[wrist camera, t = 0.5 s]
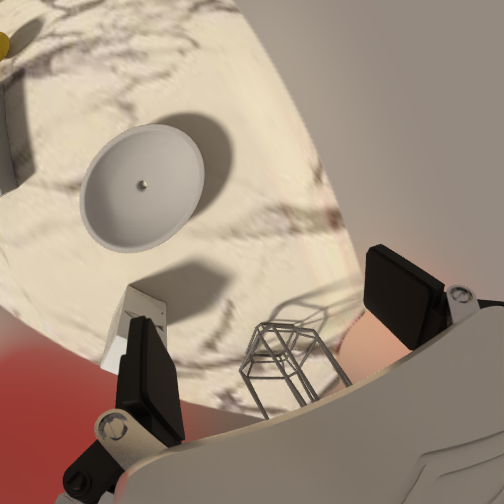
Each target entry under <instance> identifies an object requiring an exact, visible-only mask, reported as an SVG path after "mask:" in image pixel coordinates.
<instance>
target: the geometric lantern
mask: <svg viewBox="0 0 504 504" xmlns="http://www.w3.org/2000/svg"><path fill="white" fill-rule="evenodd" d="M263 325H268V326H267V327H266V328H265V327H264V326H263ZM260 326H262V328H263V330H262V331H259V329H258V327H260ZM270 328H273V330H269V329H270ZM276 328H283V329H291V330H293V331H288V330H277V329H276ZM256 330H257V331H258V334H257V336H256V338H255V340H254V342H253V344H252V346H251V343H252V340H253V338H254V335H255V333H256ZM297 330H300V331H297ZM264 332H275V333H276V335H277V337H278V339H279V340H280V342H281V344H282V345H283V347H284V350H283V352H282V353H281V354H279V355H274V354H273V352H272V351H271V349H270V348H269V346H268V344H267V343H266V341H265V340H264V338H263V337H262V334H263V333H264ZM279 332H292V333H291V335H290V337H289V339H288V342H287V344H285V342H284V340H283V339H282V337H281V335H280V334H279ZM294 332H295V333H296V337H295V339H294V341H293V343H292V346H291V348H290V350H289V349H288V347H287V346H288V344H289V342H290V339H291V337H292V335H293V333H294ZM298 332H313V333H314V335H315V337H314V336H309V335H305V334H301V333H298ZM298 335H301V336H305V337H310V338H314V339H315V340H314V342H313V343H312V345H311V347H310V348H309V350H308V352H307V353H306V355H305V357H304V358H303V360H302V362H301V363H300V365H298V363H297V362H296V360H295V358H294V357H293V355H292V353H291V350H292V348H293V346H294V344H295V341H296V339H297V337H298ZM259 340H261V341H262V343H263V344H264V346H265V348H266V349H267V351H268V352H269V354H270V355H254V353H255V350H256V348H257V345H258V343H259ZM317 341H318V343H319V345H320V346H321V348H322V349H323V351H324V353H325V354H326V356H327V357H328V359H329V360H330V362H331V364H332V365H333V367H334V368H335V370H336V372H337V373H338V375H339V376H340V378H341V380H342V381H343V383H344V384H345V386H346V388H347V387H349V386H351V385H353V384H352V383H351V381H350V380H349V378H348V377H347V375H346V374H345V373H344V371H343V370H342V368H341V367H340V365H339V364H338V362H337V361H336V360H335V358H334V357H333V355H332V354H331V352H330V351H329V350H328V348H327V347H326V345H325V344H324V343H323V341H322V340H321V338H320V337H319V335H318V334H317V332H316V331H315V330H314V329H307V328H299V327H293V325H282V324H267V323H260V324H259V325H258V326H257V327H255V330H254V333H253V335H252V338H251V340H250V343H249V345H248V348H247V351H246V354H247V355H246V357H245V359H244V361H243V363H242V365H241V367H240V369H239V373H240V374H241V376H242V378H243V380H244V382H245V384H246V386H247V387H248V389H249V391H250V393H251V395H252V397H253V398H254V400H255V402H256V404H257V405H258V407H259V409H260V411H261V413H262V414H263V416H264V418H265V419H266V420H269V417H268V415H267V414H266V412H265V410H264V408H263V406H262V404H261V402H260V400H259V398H258V396H257V394H256V392H255V390H254V388H253V386H252V384H251V382H250V380H249V379H285V381H286V383H287V384H288V386H289V388H290V390H291V391H292V393H293V395H294V396H295V398H296V400H297V401H298V403H299V405H300V406H301V407H304V406H306V405H307V404H306V402H305V401H304V399H303V398H302V396H301V395H300V393H299V392H298V390H297V389H296V387H295V386H294V384H293V383H292V381H291V380H290V378H289V377H291V376H293V375H295V374H297V376H298V378H299V380H300V381H301V383H302V385H303V387H304V389H305V391H306V393H307V394H308V396H309V398H310V400H311V402H312V403H314V402H315V401H314V399H313V397H312V396H311V394H310V392H311V393H312V395H313V396H314V398H315V400H316V401H318V400H320V399H319V397H318V396H317V394H316V393H315V391H314V389H313V388H312V386H311V384H310V383H309V381H308V380H307V378H306V376H305V375H304V373H303V371H302V370H301V367H302V365H303V363H304V362H305V360H306V359H307V357H308V355H309V354H310V352H311V350H312V349H313V347H314V345H315V343H316V342H317ZM250 346H251V348H250ZM254 347H255V348H254ZM249 348H250V350H249ZM253 349H254V350H253ZM252 350H253V353H252V355H250V354H251V352H252ZM285 350H286V352H287V354H288V355H287V356H286V355H285V353H284V352H285ZM248 351H249V352H248ZM282 354H283V355H284V356H285V358H286V359H284V360H282V358H281V355H282ZM253 357H272V359H273V360H274V361H256V362H254V360H253ZM276 357H279V358H280V360H279V361H278V360H277V358H276ZM288 357H290V359H291V360H292V362H293V364H294V365H295V367H296V369H297V370H296V369H295V368H294V367H293V366H292V364H291V363H290V362H289V361H288V360H287V359H288ZM248 358H249V360H248ZM247 360H248V361H247ZM285 360H286V361H287V362H288V364H289V365H290V366H291V367H292V368H293V370H294V371H295V372H294V373H292V374H290V375H287V374H286V372H285V368H284V363H283V361H285ZM250 361H251V362H252V363H251V365H250V368H249V371H248V374H247V376H246V375H245V374H244V373H243V372H242V370H243V369H244V367H245V366H246V365H247V364H248V363H249V362H250ZM246 362H247V363H246ZM274 362H275V363H276V365H277V367H278V368H279V370H280V371H281V373H282V374H283V376H284V377H249V374H250V371H251V368H252V365H253V363H274ZM279 362H282V366H281V364H280V363H279ZM282 367H283V368H282ZM300 375H301V376H300ZM301 377H302V378H301ZM303 380H304V381H303ZM346 381H347V382H346ZM304 382H305V383H304ZM305 384H306V385H307V387H308V389H309V390H310V392H309V390H308V389H307V387H306V385H305ZM348 384H349V385H348Z"/></svg>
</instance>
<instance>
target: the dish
mask: <svg viewBox="0 0 504 504" xmlns="http://www.w3.org/2000/svg"><path fill="white" fill-rule="evenodd" d="M204 179H205V168H204V161H203V157H202V155H201V152H200V150H199V148H198V146H197V145H196V143H195V142H194V141H193V139H192V138H191V137H190V136H188V135H187V134H186V133H185V132H183V131H181V130H179V129H178V128H175V127H172V126H169V125H163V124H147V125H142V126H138V127H135V128H132V129H129V130H127V131H125V132H123V133H121V134H120V135H118V136H116V137H115V138H114V139H112V140H111V141H110V142H108V143H107V144H106V145H105V146H104V147H103V148H102V149H101V150H100V151H99V153H98V154H97V155H96V156H95V158H94V159H93V161H92V162H91V164H90V166H89V168H88V169H87V172H86V174H85V176H84V179H83V182H82V186H81V191H80V213H81V217H82V221H83V223H84V226H85V228H86V230H87V231H88V233H89V234H90V236H91V237H92V238H93V239H94V240H95V241H96V242H97V243H98V244H100V245H101V246H103V247H104V248H107V249H109V250H111V251H115V252H119V253H137V252H142V251H146V250H149V249H151V248H154V247H156V246H158V245H160V244H162V243H163V242H165V241H167V240H168V239H169V238H171V237H172V236H173V235H174V234H176V233H177V232H178V231H179V230H180V229H181V228H182V227H183V226H184V224H185V223H186V222H187V221H188V219H189V218H190V217H191V215H192V214H193V212H194V210H195V208H196V206H197V204H198V202H199V200H200V197H201V194H202V191H203V186H204ZM141 181H145V182H146V183H147V187H146V188H144V189H142V188H140V186H139V183H140V182H141Z"/></svg>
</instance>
